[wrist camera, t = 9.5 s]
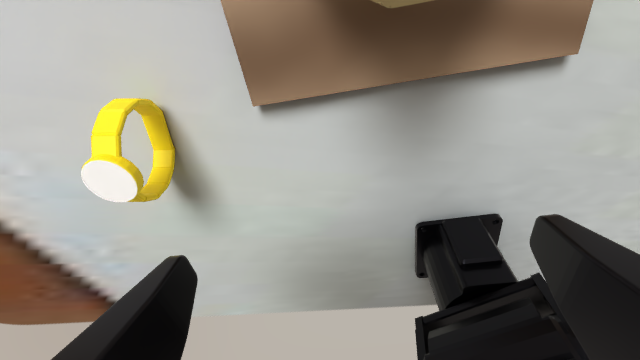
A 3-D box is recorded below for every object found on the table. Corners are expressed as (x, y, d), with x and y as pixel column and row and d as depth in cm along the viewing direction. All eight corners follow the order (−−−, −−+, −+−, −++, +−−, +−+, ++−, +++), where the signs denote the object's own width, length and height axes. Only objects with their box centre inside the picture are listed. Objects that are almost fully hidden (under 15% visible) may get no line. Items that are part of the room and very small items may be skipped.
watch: (192, 164, 22) (157, 225, 18) (154, 164, 22) (109, 225, 18) (164, 83, 19) (112, 134, 14) (119, 84, 19) (51, 135, 14)
